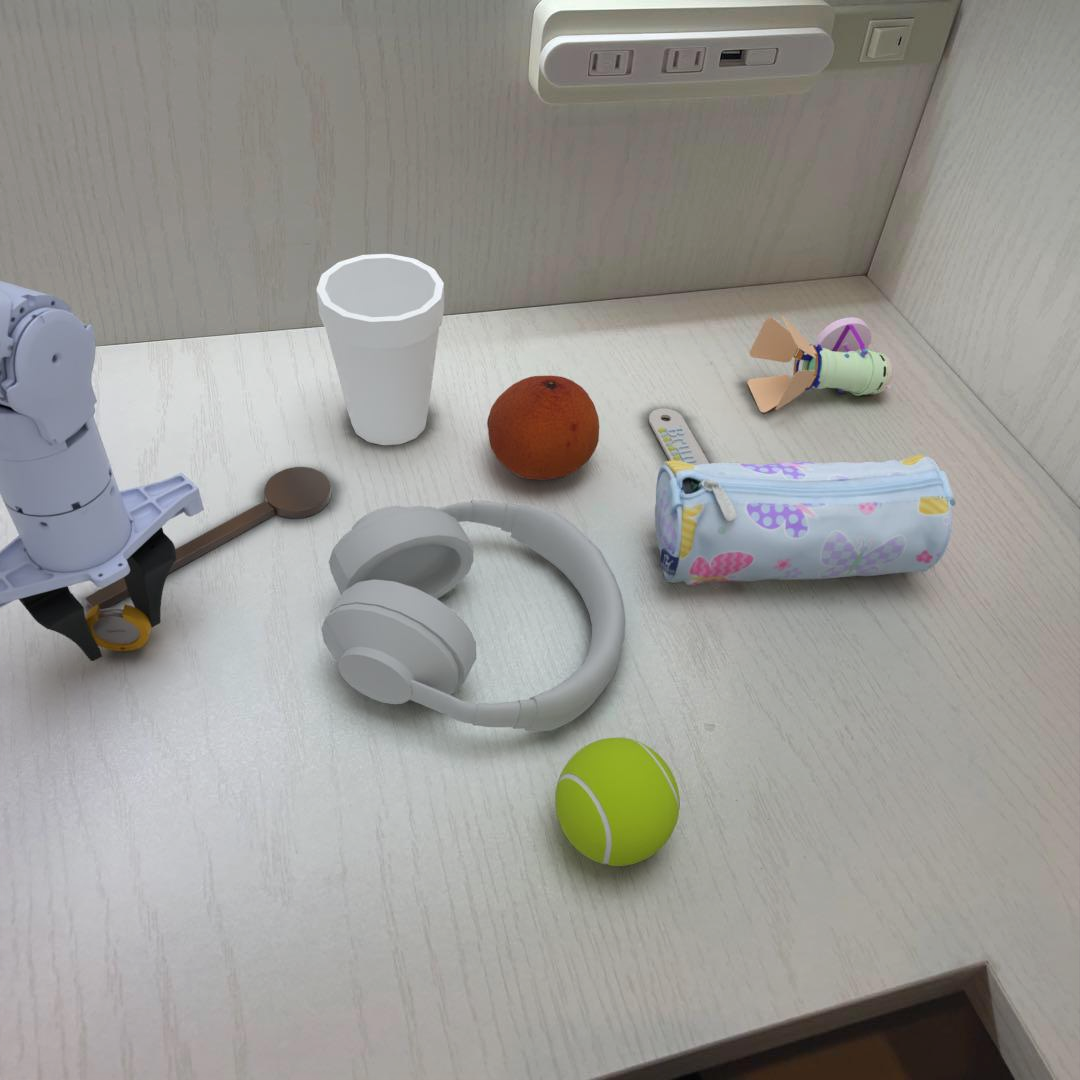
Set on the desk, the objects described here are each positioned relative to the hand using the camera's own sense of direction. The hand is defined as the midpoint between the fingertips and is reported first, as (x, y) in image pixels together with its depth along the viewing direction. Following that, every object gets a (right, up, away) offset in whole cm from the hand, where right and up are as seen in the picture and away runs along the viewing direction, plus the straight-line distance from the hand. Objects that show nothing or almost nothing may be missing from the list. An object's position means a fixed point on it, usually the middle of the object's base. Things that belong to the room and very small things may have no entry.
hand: (119, 633), depth 63 cm
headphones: (+23, -1, +4) cm, 23 cm away
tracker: (0, -1, +1) cm, 2 cm away
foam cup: (+15, +16, +19) cm, 29 cm away
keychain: (+39, +14, +19) cm, 46 cm away
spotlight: (+53, +20, +26) cm, 62 cm away
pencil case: (+46, +5, +11) cm, 47 cm away
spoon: (+4, +6, +8) cm, 11 cm away
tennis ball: (+32, -11, -6) cm, 34 cm away
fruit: (+27, +12, +17) cm, 34 cm away
